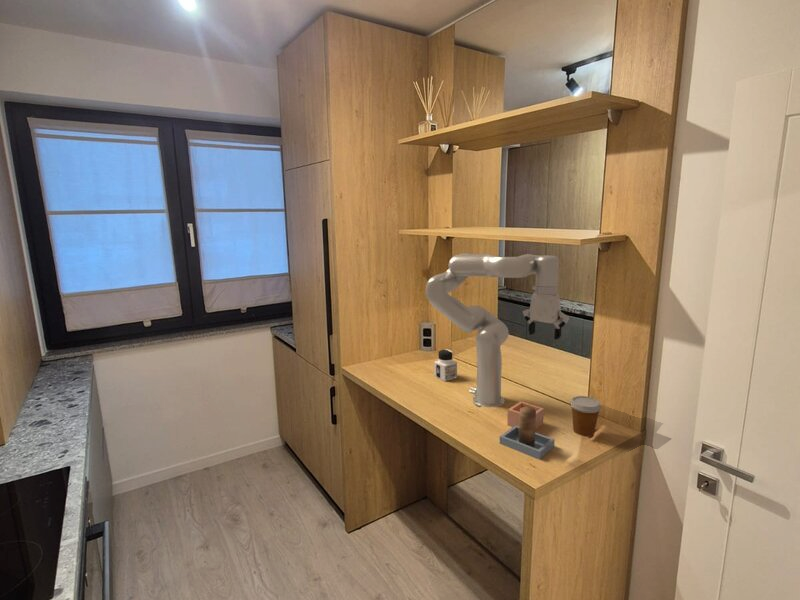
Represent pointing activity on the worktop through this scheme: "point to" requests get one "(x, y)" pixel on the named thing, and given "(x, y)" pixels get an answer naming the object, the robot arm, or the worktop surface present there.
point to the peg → (527, 426)
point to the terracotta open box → (515, 413)
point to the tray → (539, 450)
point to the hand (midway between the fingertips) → (544, 336)
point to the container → (445, 366)
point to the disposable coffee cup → (585, 415)
